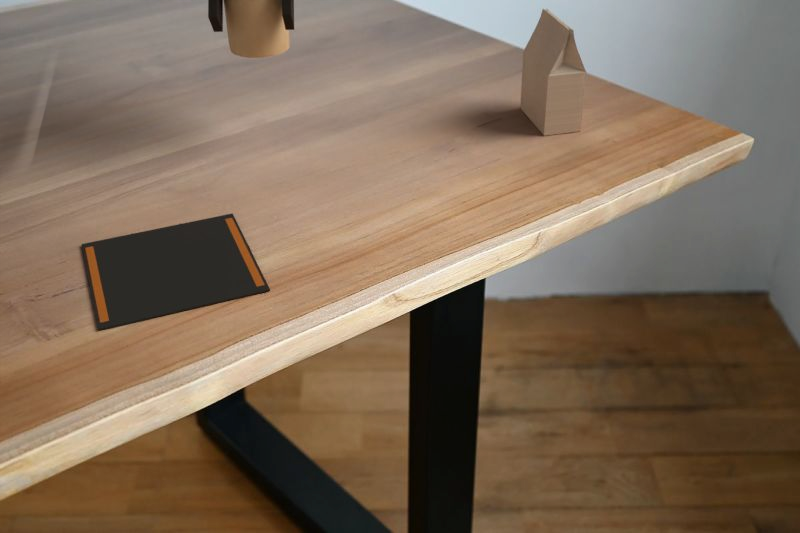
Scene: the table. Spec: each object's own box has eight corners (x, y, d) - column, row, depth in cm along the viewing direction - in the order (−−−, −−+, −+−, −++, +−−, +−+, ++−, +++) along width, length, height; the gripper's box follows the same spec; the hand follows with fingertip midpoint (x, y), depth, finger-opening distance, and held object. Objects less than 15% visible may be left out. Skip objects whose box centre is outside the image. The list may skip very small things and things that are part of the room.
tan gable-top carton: (544, 135, 86) (551, 32, 81) (520, 108, 92) (525, 10, 86) (580, 131, 87) (590, 28, 81) (554, 104, 92) (562, 6, 87)
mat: (82, 245, 71) (81, 243, 71) (232, 214, 75) (232, 213, 75) (98, 330, 62) (98, 329, 62) (270, 290, 65) (269, 289, 65)
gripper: (354, -185, 87) (360, 40, 82) (159, -181, 86) (154, 45, 82) (351, -245, 79) (358, -1, 75) (138, -240, 79) (131, 5, 74)
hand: (252, 23), depth 78 cm, fingers closed on candle, 5 cm apart
